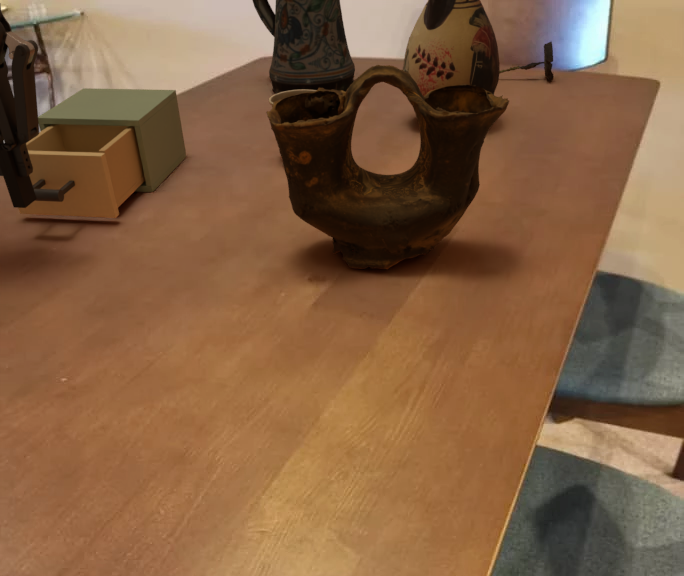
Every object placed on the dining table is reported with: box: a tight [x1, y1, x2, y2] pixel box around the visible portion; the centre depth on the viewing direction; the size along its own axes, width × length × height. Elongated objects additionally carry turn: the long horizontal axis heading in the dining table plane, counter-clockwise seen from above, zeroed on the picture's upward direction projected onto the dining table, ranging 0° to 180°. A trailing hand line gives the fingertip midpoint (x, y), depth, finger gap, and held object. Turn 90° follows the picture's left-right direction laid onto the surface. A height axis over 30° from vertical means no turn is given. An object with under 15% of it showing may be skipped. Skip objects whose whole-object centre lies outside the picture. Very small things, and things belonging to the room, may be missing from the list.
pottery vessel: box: [266, 64, 510, 271], centre depth 79 cm, size 25×11×20 cm, turn 89°
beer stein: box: [252, 0, 356, 94], centre depth 132 cm, size 16×19×25 cm
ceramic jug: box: [402, 0, 501, 102], centre depth 111 cm, size 17×15×30 cm
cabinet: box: [38, 87, 187, 193], centre depth 105 cm, size 15×15×10 cm
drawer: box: [17, 124, 145, 219], centre depth 95 cm, size 18×13×8 cm
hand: (25, 202), depth 85 cm, fingers closed
